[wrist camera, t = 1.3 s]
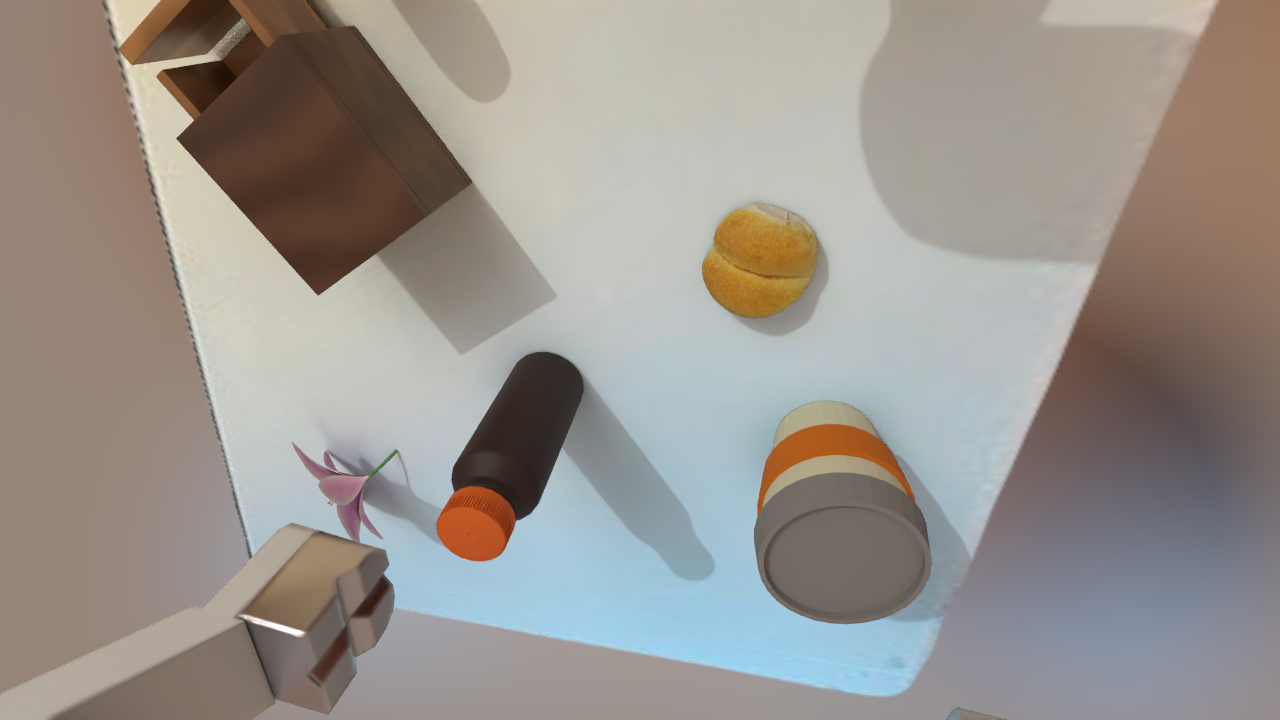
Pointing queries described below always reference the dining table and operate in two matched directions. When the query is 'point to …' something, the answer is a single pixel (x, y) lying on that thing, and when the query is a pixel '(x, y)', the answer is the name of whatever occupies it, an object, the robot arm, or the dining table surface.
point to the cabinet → (324, 153)
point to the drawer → (212, 41)
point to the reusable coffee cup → (838, 520)
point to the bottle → (510, 456)
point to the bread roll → (760, 260)
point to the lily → (343, 492)
